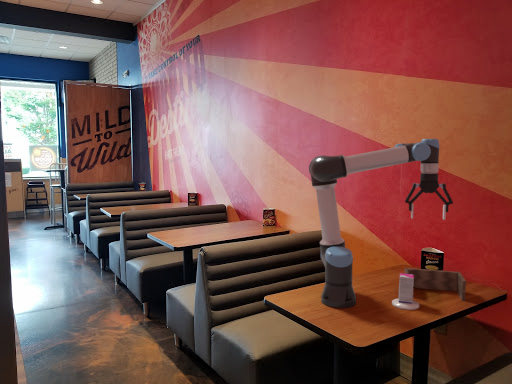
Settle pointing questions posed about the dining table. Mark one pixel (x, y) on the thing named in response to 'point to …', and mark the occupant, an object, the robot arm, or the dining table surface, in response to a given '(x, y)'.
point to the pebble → (405, 305)
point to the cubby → (438, 280)
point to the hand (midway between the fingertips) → (427, 218)
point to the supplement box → (406, 288)
